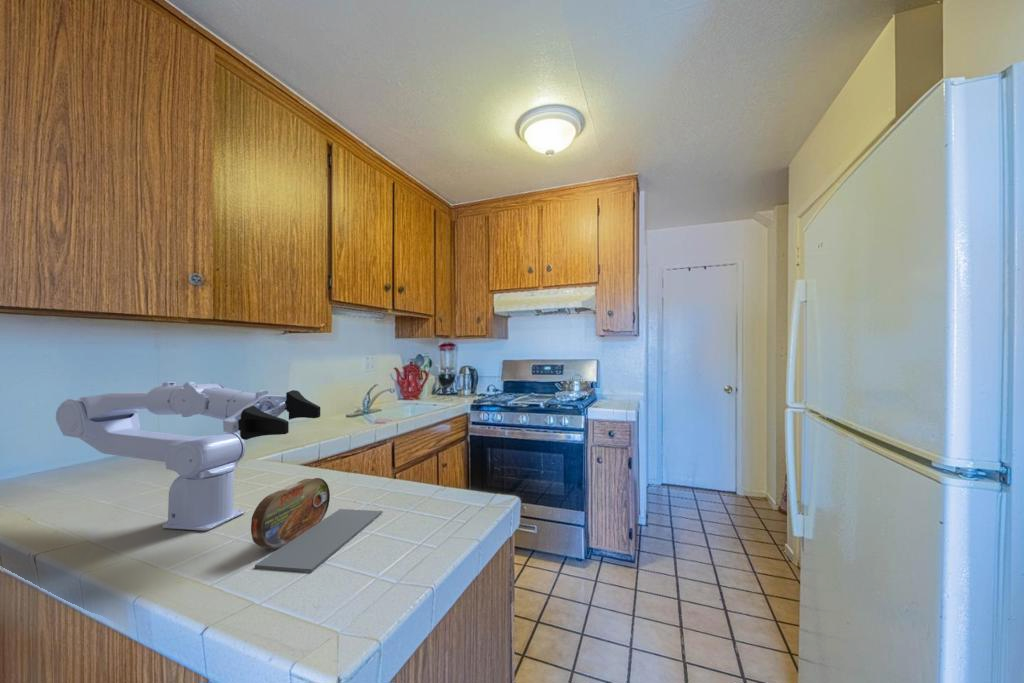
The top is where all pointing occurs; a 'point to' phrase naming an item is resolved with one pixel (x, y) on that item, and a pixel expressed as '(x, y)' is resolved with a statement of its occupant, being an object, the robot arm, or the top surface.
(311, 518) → the tin
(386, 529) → the top surface
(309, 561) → the rubber mat
